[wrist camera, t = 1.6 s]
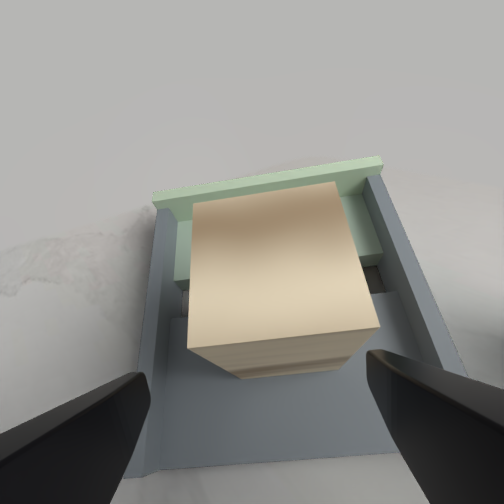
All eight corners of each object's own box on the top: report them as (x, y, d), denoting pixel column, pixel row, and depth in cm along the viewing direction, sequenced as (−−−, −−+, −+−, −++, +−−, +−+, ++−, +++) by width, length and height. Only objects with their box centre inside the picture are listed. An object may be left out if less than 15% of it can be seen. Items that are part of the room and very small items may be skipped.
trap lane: (456, 442, 16) (515, 454, 12) (157, 465, 17) (111, 483, 13) (365, 198, 25) (379, 155, 21) (176, 227, 27) (153, 192, 23)
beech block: (338, 369, 17) (380, 327, 8) (241, 379, 17) (186, 348, 9) (319, 280, 20) (334, 181, 11) (237, 290, 20) (193, 203, 12)
